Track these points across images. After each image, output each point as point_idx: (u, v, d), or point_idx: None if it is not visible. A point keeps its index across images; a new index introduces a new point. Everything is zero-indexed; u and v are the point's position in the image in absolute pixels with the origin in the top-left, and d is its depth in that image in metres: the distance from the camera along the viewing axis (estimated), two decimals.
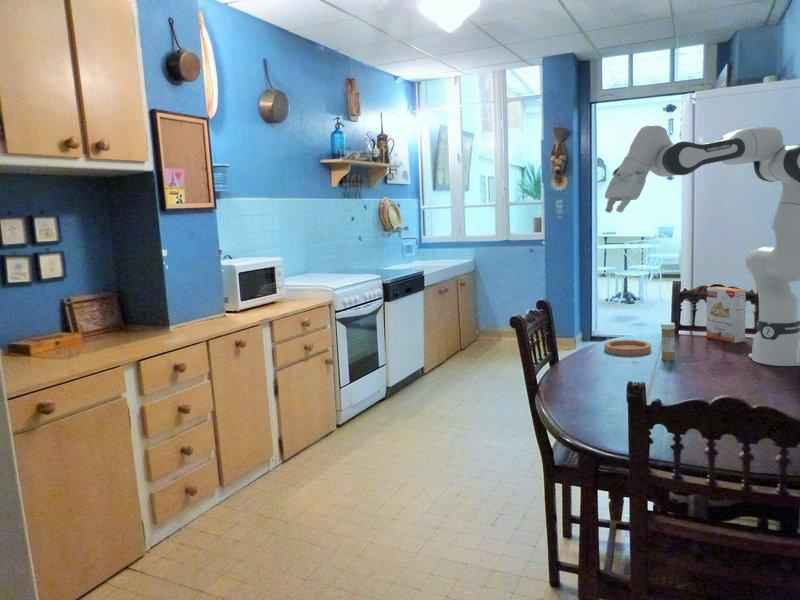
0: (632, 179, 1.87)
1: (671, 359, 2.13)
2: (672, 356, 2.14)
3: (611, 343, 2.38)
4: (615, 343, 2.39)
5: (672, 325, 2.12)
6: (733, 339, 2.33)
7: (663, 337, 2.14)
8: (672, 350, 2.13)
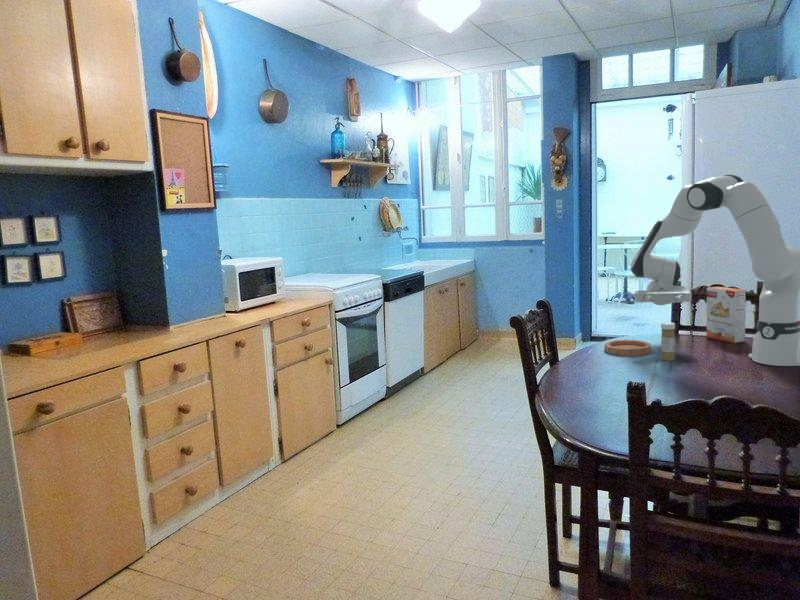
0: None
1: (671, 359, 2.13)
2: (672, 356, 2.14)
3: (611, 343, 2.38)
4: (615, 343, 2.39)
5: (672, 325, 2.12)
6: (733, 339, 2.33)
7: (663, 337, 2.14)
8: (672, 350, 2.13)
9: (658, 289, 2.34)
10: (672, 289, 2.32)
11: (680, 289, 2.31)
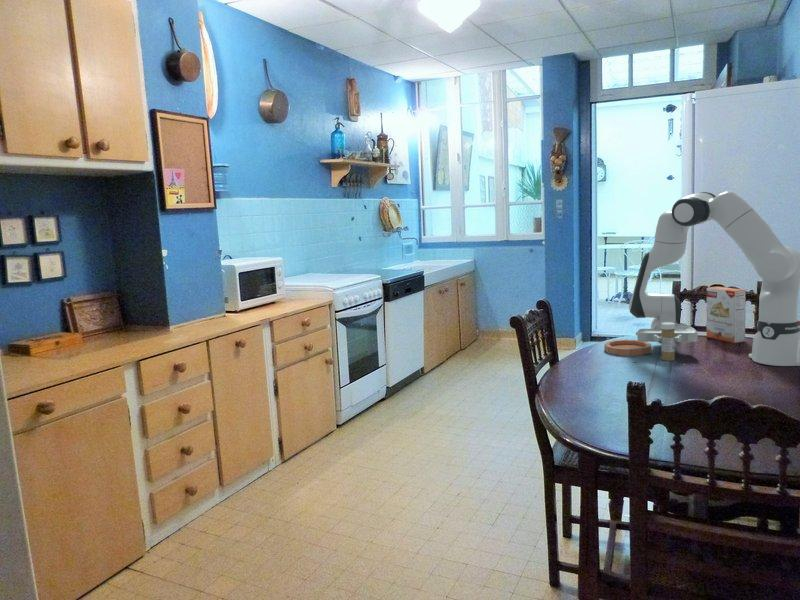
0: None
1: (671, 359, 2.13)
2: (672, 356, 2.14)
3: (611, 343, 2.38)
4: (615, 343, 2.39)
5: (672, 325, 2.12)
6: (733, 339, 2.33)
7: (663, 337, 2.14)
8: (672, 350, 2.13)
9: None
10: (677, 328, 2.22)
11: (685, 328, 2.21)
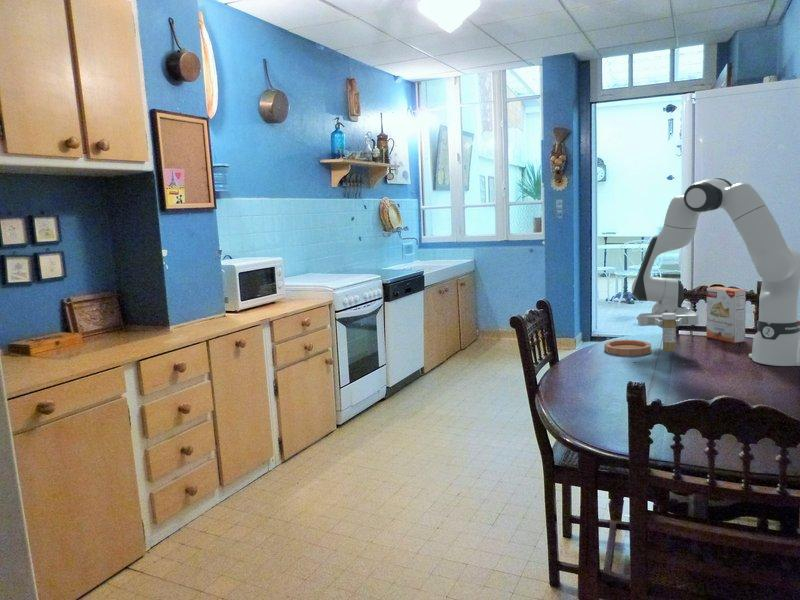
0: None
1: (672, 349, 2.13)
2: (673, 346, 2.13)
3: (611, 343, 2.38)
4: (615, 343, 2.39)
5: (673, 315, 2.11)
6: (733, 339, 2.33)
7: (664, 327, 2.13)
8: (673, 340, 2.12)
9: (663, 312, 2.23)
10: (678, 311, 2.21)
11: (686, 311, 2.20)
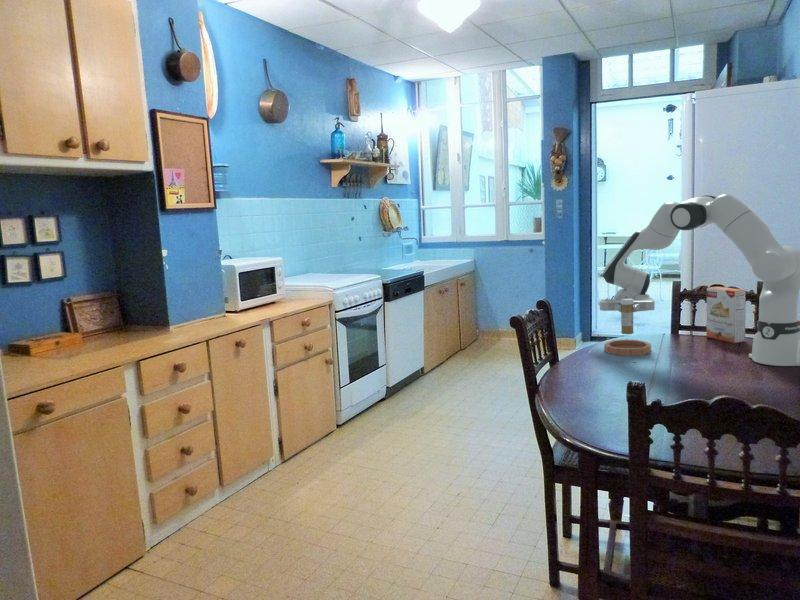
0: None
1: (630, 332, 2.30)
2: (631, 330, 2.30)
3: (611, 343, 2.38)
4: (615, 343, 2.39)
5: (630, 301, 2.28)
6: (733, 339, 2.33)
7: (622, 312, 2.30)
8: (631, 324, 2.29)
9: (623, 298, 2.40)
10: (636, 298, 2.38)
11: (644, 298, 2.37)
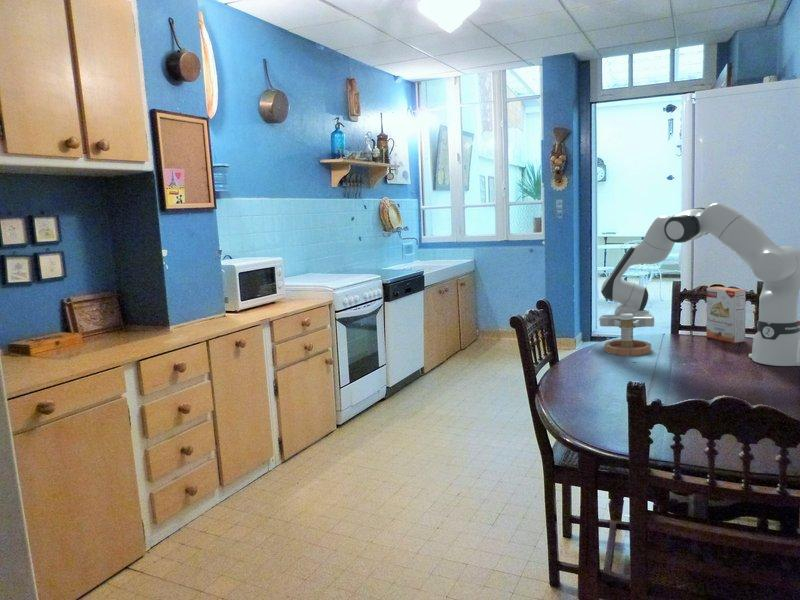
0: None
1: (630, 347, 2.31)
2: (630, 344, 2.31)
3: (611, 343, 2.38)
4: (615, 343, 2.39)
5: (630, 316, 2.29)
6: (733, 339, 2.33)
7: (622, 327, 2.31)
8: (630, 339, 2.30)
9: None
10: (636, 314, 2.39)
11: (644, 314, 2.38)
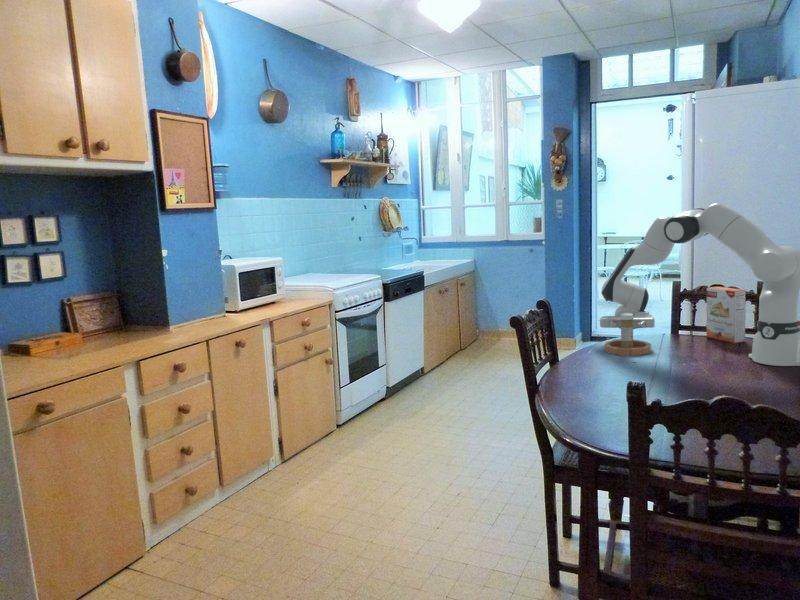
0: None
1: (630, 347, 2.31)
2: (630, 344, 2.31)
3: (611, 343, 2.38)
4: (615, 343, 2.39)
5: (630, 316, 2.29)
6: (733, 339, 2.33)
7: (622, 327, 2.31)
8: (630, 339, 2.30)
9: None
10: (637, 315, 2.39)
11: (644, 315, 2.38)
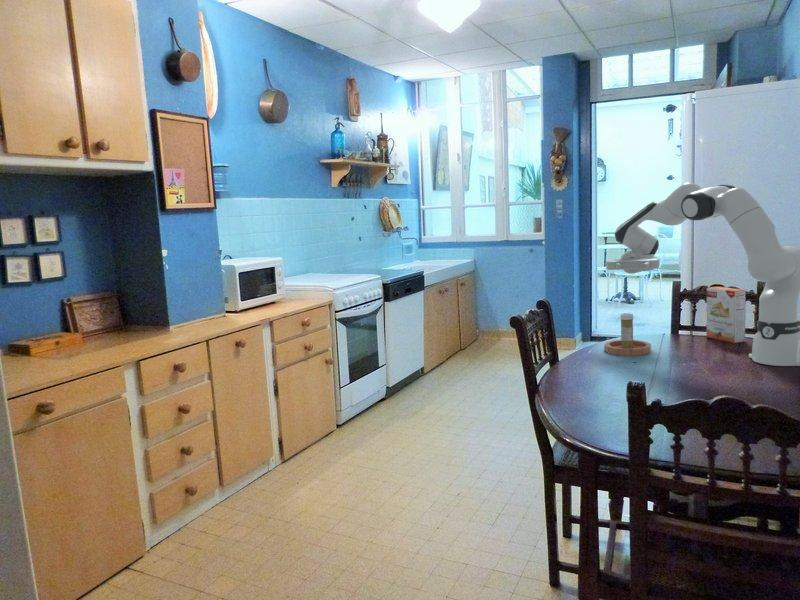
0: None
1: (630, 347, 2.31)
2: (630, 344, 2.31)
3: (611, 343, 2.38)
4: (615, 343, 2.39)
5: (630, 316, 2.29)
6: (733, 339, 2.33)
7: (622, 327, 2.31)
8: (630, 339, 2.30)
9: (629, 258, 2.47)
10: (642, 257, 2.45)
11: (649, 257, 2.44)
